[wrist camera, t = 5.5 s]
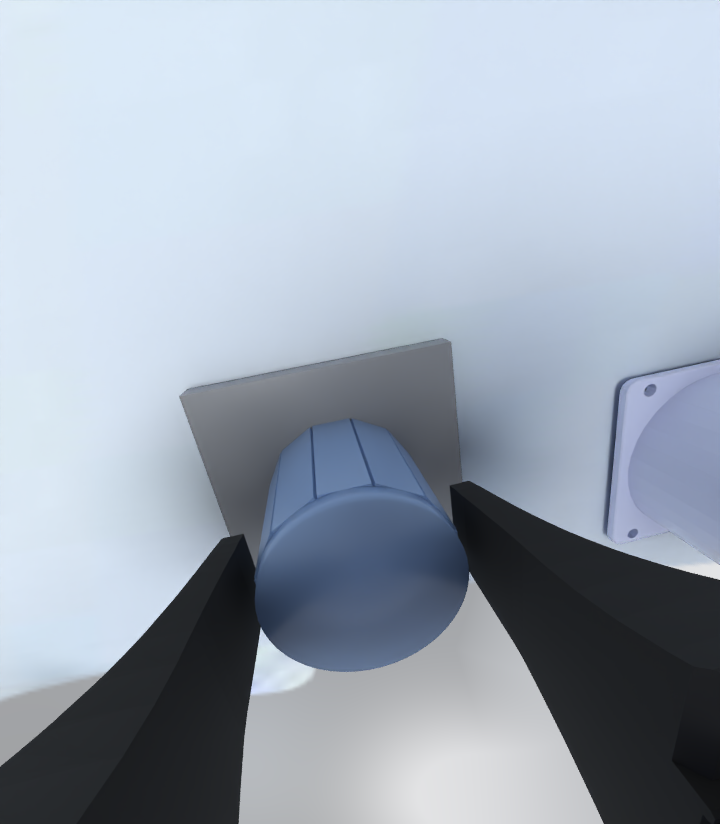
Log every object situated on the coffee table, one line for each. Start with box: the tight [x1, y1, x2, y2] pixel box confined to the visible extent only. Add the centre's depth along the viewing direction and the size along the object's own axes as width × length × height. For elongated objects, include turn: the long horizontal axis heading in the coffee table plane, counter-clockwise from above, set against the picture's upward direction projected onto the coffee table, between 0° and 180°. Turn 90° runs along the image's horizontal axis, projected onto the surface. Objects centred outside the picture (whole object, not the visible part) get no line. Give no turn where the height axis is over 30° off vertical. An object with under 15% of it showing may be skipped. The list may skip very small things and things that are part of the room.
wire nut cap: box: [254, 418, 469, 672], centre depth 11 cm, size 5×5×5 cm
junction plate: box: [179, 339, 462, 568], centre depth 12 cm, size 9×9×4 cm
